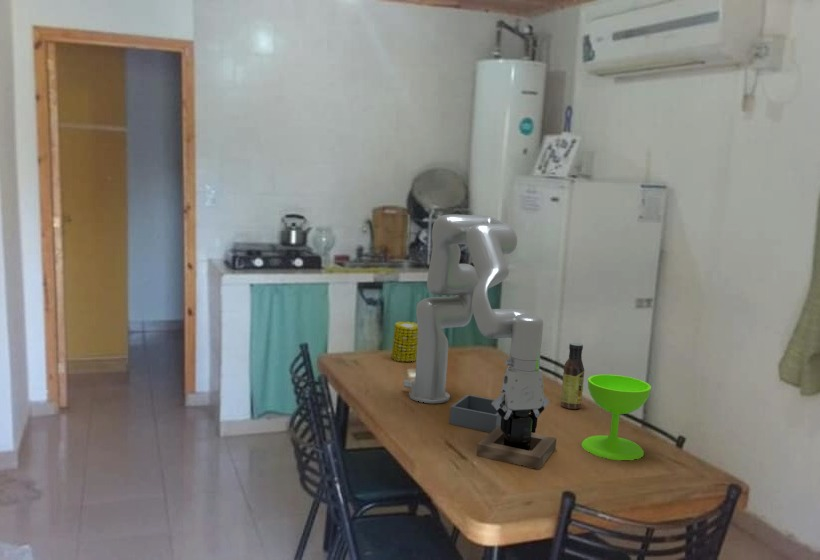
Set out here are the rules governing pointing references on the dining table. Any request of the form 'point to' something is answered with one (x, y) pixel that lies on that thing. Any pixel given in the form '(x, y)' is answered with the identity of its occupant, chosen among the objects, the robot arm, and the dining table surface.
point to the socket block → (517, 449)
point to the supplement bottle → (519, 430)
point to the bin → (475, 413)
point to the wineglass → (616, 414)
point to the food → (405, 341)
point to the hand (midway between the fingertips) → (518, 431)
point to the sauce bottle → (573, 378)
